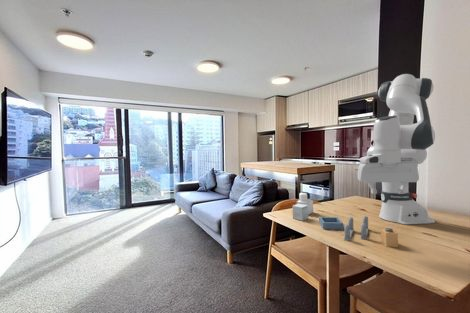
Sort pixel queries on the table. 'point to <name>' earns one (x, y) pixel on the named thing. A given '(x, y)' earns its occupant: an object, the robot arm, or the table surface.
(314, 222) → the table surface
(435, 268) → the table surface
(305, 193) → the medicine bottle
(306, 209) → the product box
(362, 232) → the clip
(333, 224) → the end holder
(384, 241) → the block with round knob
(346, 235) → the clip
